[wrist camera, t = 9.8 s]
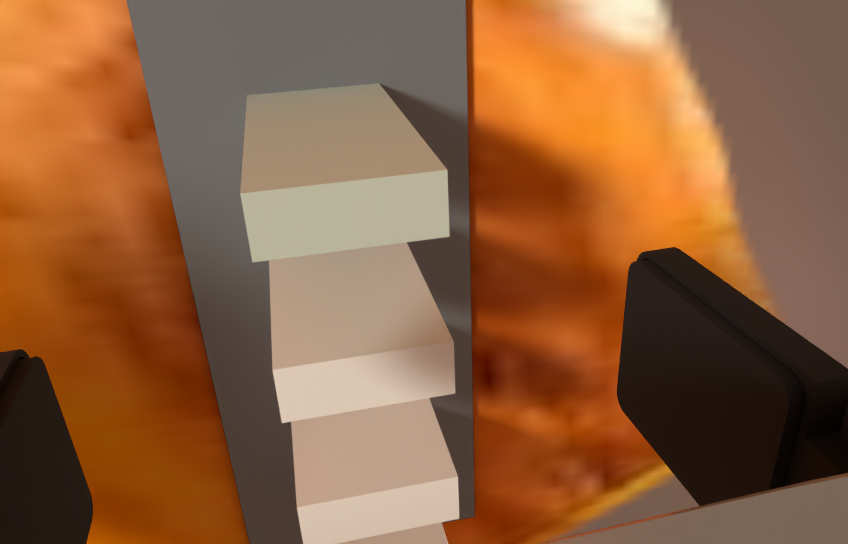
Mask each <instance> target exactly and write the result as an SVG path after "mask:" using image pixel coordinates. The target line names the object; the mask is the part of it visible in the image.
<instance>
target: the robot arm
mask: <svg viewBox="0 0 848 544" xmlns="http://www.w3.org/2000/svg"><path fill="white" fill-rule="evenodd" d="M617 397H618V401H619V404H620V407H621V409H622V410H623V412H624V413H625V414H626V416H627V417H628V418H629V419H630V421H631V422H632V423H633V424H634V425H635V427H636V428H637V429H638V430H639V432H640V433H641V434H642V435H643V437H644V438H645V439H646V440H647V441H648V443H649V444H650V445H651V446H652V448H653V449H654V450H655V451H656V453H657V454H658V455H659V456H660V458H661V459H662V460H663V461H664V462H665V464H666V465H667V466H668V467H669V469H670V470H671V471H672V472H673V474H674V475H675V476H676V477H677V478H678V480H679V481H680V482H681V483H682V485H683V486H684V487H685V488H686V490H687V491H688V492H689V493H690V494H691V496H692V497H693V498H694V499H695V501H696V502H697V503H698V504H699V506H698V507H694V508H690V509H685V510H681V511H677V512H672V513H668V514H664V515H659V516H655V517H650V518H646V519H642V520H638V521H633V522H629V523H625V524H620V525H616V526H612V527H607V528H603V529H599V530H594V531H590V532H586V533H581V534H577V535H573V536H569V537H565V538H560V539H556V540H552V541H548V542H543V543H539V544H848V369H847V368H846V367H844V366H843V365H842V364H840V363H839V362H837V361H836V360H835V359H833V358H832V357H830V356H829V355H828V354H826V353H825V352H823V351H822V350H821V349H819V348H818V347H816V346H815V345H813V344H812V343H810V342H809V341H808V340H806V339H805V338H804V337H802V336H801V335H799V334H798V333H797V332H795V331H794V330H792V329H791V328H790V327H788V326H787V325H785V324H784V323H783V322H781V321H780V320H778V319H777V318H775V317H774V316H773V315H771V314H770V313H768V312H767V311H766V310H764V309H763V308H761V307H760V306H759V305H757V304H756V303H754V302H753V301H752V300H750V299H749V298H747V297H746V296H744V295H743V294H742V293H740V292H739V291H737V290H736V289H735V288H733V287H732V286H730V285H729V284H728V283H726V282H725V281H723V280H722V279H721V278H719V277H718V276H716V275H715V274H714V273H712V272H711V271H709V270H708V269H706V268H705V267H704V266H702V265H701V264H699V263H698V262H697V261H695V260H694V259H692V258H691V257H690V256H688V255H687V254H685V253H684V252H683V251H681V250H680V249H678V248H675V247H672V248H665V249H659V250H653V251H646V252H642V253H641V254H640V255H639V257H638V259H637V261H636V262H633V263H631V265H630V267H629V271H628V281H627V291H626V302H625V312H624V322H623V333H622V343H621V353H620V364H619V374H618V384H617ZM92 516H93V504H92V497H91V494H90V491H89V488H88V485H87V482H86V479H85V477H84V474H83V471H82V468H81V465H80V462H79V460H78V457H77V454H76V451H75V448H74V446H73V443H72V440H71V437H70V434H69V431H68V429H67V426H66V423H65V420H64V417H63V415H62V412H61V409H60V406H59V403H58V401H57V398H56V395H55V392H54V389H53V386H52V384H51V381H50V378H49V375H48V372H47V370H46V367H45V364H44V362H43V361H42V359H41V358H40V357H32V358H29V356H28V354H27V353H26V352H25V351H24V350H22V349H20V350H13V351H7V352H1V353H0V544H86V542H87V538H88V534H89V530H90V526H91V522H92Z"/></svg>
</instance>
